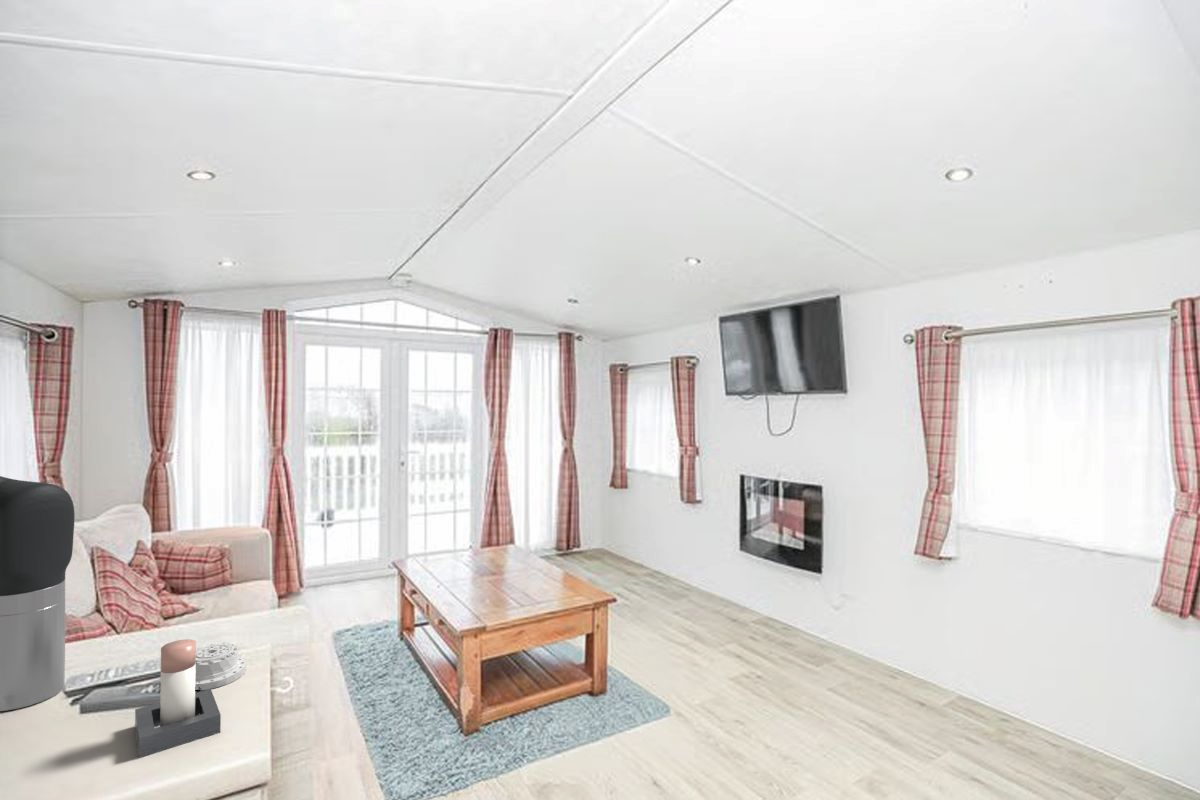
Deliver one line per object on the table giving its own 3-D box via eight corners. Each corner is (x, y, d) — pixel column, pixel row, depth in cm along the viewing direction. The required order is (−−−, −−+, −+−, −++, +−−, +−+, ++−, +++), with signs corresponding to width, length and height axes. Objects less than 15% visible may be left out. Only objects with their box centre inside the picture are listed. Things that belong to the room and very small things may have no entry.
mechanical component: (158, 688, 93) (211, 696, 91) (158, 661, 93) (212, 668, 91) (211, 660, 103) (259, 667, 101) (211, 636, 103) (260, 642, 101)
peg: (158, 728, 82) (159, 644, 82) (192, 718, 85) (193, 637, 85) (161, 741, 79) (162, 654, 79) (196, 730, 82) (197, 646, 82)
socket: (135, 726, 83) (135, 709, 83) (210, 704, 89) (210, 688, 89) (138, 757, 76) (139, 738, 76) (220, 732, 82) (220, 714, 82)
